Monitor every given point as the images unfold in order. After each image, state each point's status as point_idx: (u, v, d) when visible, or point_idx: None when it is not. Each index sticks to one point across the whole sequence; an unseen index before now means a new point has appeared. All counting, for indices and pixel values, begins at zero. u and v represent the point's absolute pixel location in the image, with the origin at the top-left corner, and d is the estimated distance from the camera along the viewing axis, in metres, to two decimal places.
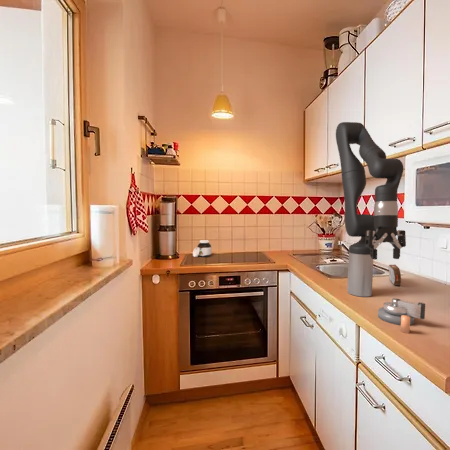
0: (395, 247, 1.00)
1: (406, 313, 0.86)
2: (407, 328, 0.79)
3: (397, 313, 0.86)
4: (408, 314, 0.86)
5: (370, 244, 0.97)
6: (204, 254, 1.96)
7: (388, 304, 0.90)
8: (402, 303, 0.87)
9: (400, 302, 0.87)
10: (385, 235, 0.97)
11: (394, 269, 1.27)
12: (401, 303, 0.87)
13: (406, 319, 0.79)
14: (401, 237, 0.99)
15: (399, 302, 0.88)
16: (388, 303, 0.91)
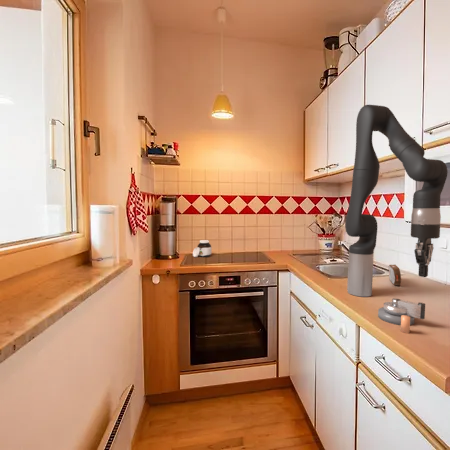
0: None
1: (406, 313, 0.86)
2: (407, 328, 0.79)
3: (397, 313, 0.86)
4: (408, 314, 0.86)
5: (426, 261, 0.85)
6: (204, 254, 1.96)
7: (388, 304, 0.90)
8: (402, 303, 0.87)
9: (400, 302, 0.87)
10: (430, 247, 0.86)
11: (394, 269, 1.27)
12: (401, 303, 0.87)
13: (406, 319, 0.79)
14: None
15: (399, 302, 0.88)
16: (388, 303, 0.91)
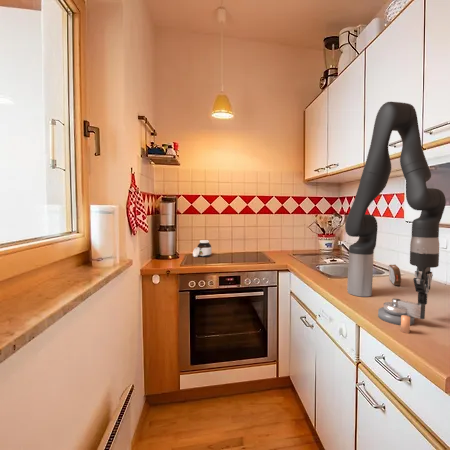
0: None
1: (406, 313, 0.86)
2: (407, 328, 0.79)
3: (397, 313, 0.86)
4: (408, 314, 0.86)
5: (425, 290, 0.86)
6: (204, 254, 1.96)
7: (388, 304, 0.90)
8: (402, 303, 0.87)
9: (400, 302, 0.87)
10: (429, 275, 0.86)
11: (394, 269, 1.27)
12: (401, 303, 0.87)
13: (406, 319, 0.79)
14: None
15: (399, 302, 0.88)
16: (388, 303, 0.91)
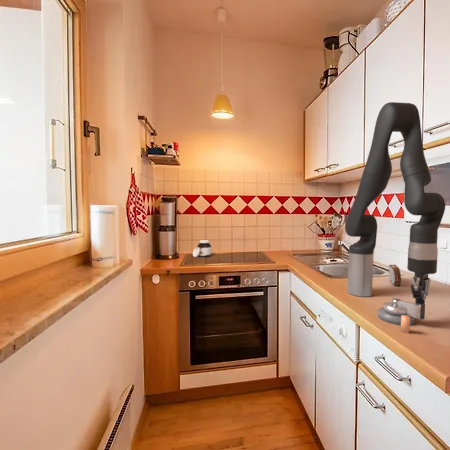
0: None
1: (406, 313, 0.86)
2: (407, 328, 0.79)
3: (397, 313, 0.86)
4: (408, 314, 0.86)
5: (422, 297, 0.84)
6: (204, 254, 1.96)
7: (388, 304, 0.90)
8: (402, 303, 0.87)
9: (400, 302, 0.87)
10: (427, 282, 0.84)
11: (394, 269, 1.27)
12: (401, 303, 0.87)
13: (406, 319, 0.79)
14: None
15: (399, 302, 0.88)
16: (388, 303, 0.91)
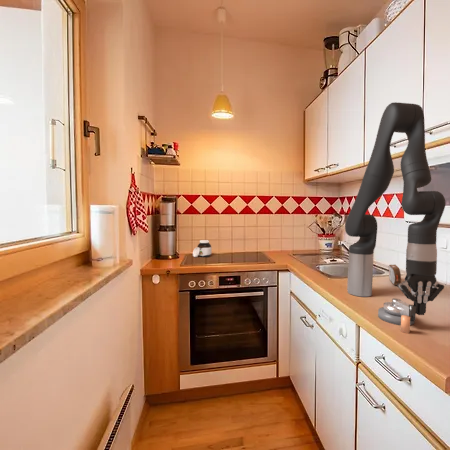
0: None
1: (399, 313, 0.86)
2: (407, 328, 0.79)
3: (389, 311, 0.88)
4: (401, 314, 0.86)
5: (412, 298, 0.82)
6: (204, 254, 1.96)
7: (389, 303, 0.91)
8: (397, 303, 0.87)
9: (396, 302, 0.88)
10: (420, 284, 0.81)
11: (394, 269, 1.27)
12: (397, 303, 0.87)
13: (406, 319, 0.79)
14: (435, 290, 0.82)
15: (395, 302, 0.88)
16: (392, 303, 0.92)
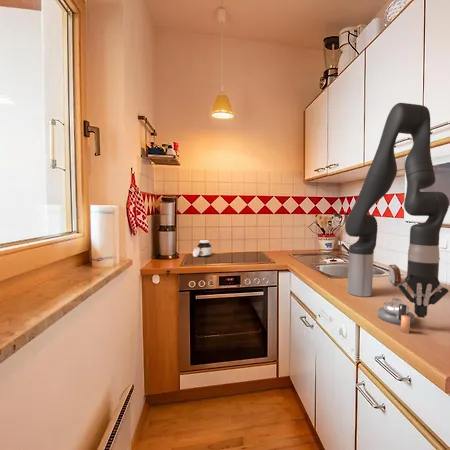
0: (421, 303, 0.82)
1: (394, 312, 0.87)
2: (407, 328, 0.79)
3: (385, 309, 0.89)
4: (395, 314, 0.86)
5: (410, 299, 0.82)
6: (204, 254, 1.96)
7: (392, 303, 0.91)
8: (394, 302, 0.88)
9: (394, 301, 0.88)
10: (419, 286, 0.80)
11: (394, 269, 1.27)
12: (394, 302, 0.88)
13: (406, 319, 0.79)
14: (438, 293, 0.80)
15: (393, 301, 0.88)
16: None
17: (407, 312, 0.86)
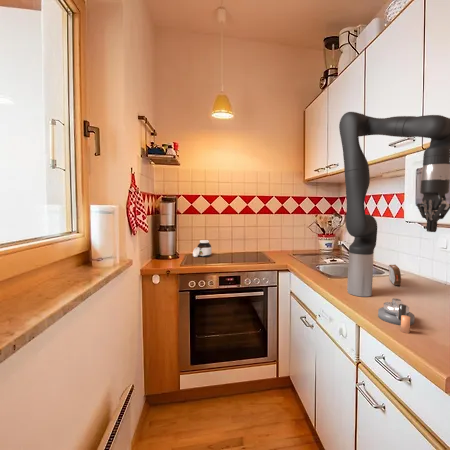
0: None
1: (393, 312, 0.87)
2: (407, 328, 0.79)
3: (385, 309, 0.89)
4: (395, 314, 0.86)
5: None
6: (204, 254, 1.96)
7: (392, 303, 0.91)
8: (394, 302, 0.88)
9: (394, 301, 0.88)
10: None
11: (394, 269, 1.27)
12: (394, 302, 0.88)
13: (406, 319, 0.79)
14: None
15: (393, 301, 0.88)
16: None
17: (407, 312, 0.86)
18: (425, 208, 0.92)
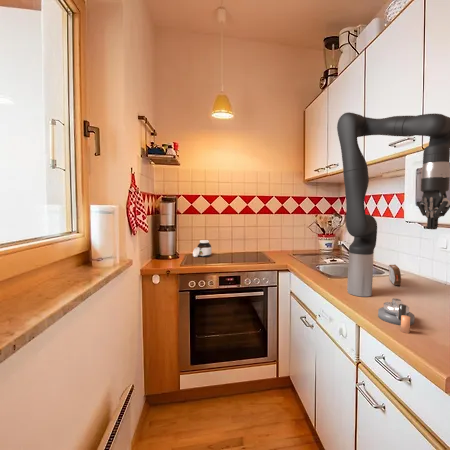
0: None
1: (393, 312, 0.87)
2: (407, 328, 0.79)
3: (385, 309, 0.89)
4: (395, 314, 0.86)
5: None
6: (204, 254, 1.96)
7: (392, 303, 0.91)
8: (394, 302, 0.88)
9: (394, 301, 0.88)
10: None
11: (394, 269, 1.27)
12: (394, 302, 0.88)
13: (406, 319, 0.79)
14: None
15: (393, 301, 0.88)
16: None
17: (407, 312, 0.86)
18: (426, 206, 0.93)
